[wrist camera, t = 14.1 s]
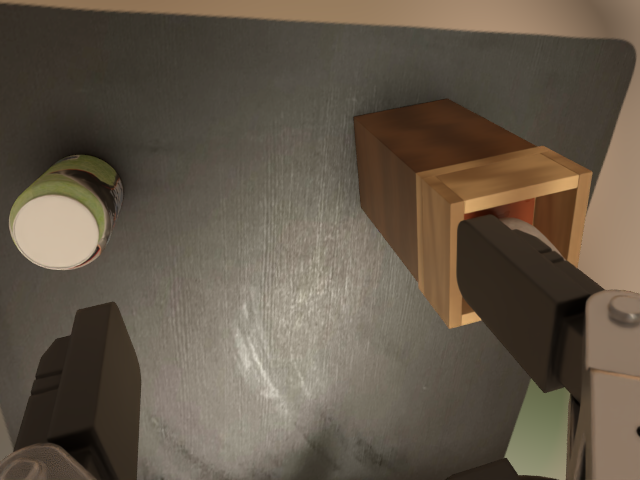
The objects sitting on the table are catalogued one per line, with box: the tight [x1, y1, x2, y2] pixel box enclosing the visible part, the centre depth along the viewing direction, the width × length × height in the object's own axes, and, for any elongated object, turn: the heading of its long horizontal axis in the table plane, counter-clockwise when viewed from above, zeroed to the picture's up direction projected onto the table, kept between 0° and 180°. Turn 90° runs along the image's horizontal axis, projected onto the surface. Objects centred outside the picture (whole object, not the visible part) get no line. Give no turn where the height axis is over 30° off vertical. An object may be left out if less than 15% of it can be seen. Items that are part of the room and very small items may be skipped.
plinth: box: [354, 99, 537, 283], centre depth 44 cm, size 9×9×14 cm
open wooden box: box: [416, 146, 592, 329], centre depth 36 cm, size 9×9×5 cm
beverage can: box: [9, 155, 124, 270], centre depth 39 cm, size 6×7×12 cm
